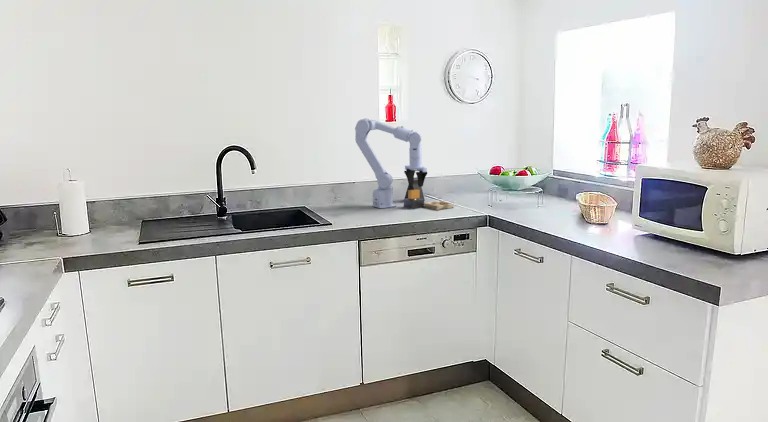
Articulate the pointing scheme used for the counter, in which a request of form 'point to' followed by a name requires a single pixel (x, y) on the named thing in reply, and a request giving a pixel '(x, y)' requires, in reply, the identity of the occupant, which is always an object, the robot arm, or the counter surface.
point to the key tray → (438, 205)
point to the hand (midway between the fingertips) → (415, 185)
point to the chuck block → (414, 203)
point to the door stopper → (415, 186)
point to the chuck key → (413, 194)
